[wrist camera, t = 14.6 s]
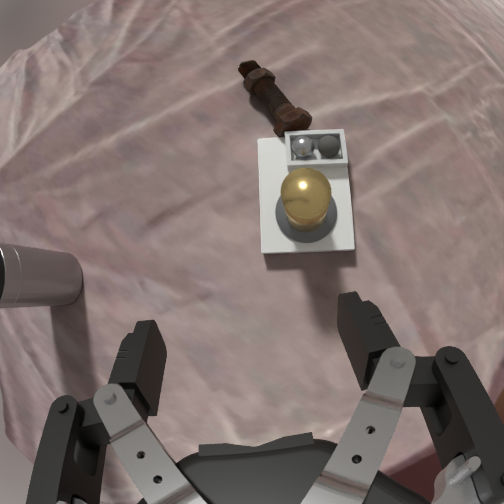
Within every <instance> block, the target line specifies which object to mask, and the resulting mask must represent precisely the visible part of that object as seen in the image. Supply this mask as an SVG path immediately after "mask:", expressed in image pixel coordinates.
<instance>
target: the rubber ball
mask: <svg viewBox="0 0 504 504" xmlns="http://www.w3.org/2000/svg"><path fill="white" fill-rule="evenodd" d="M339 150H340V144H339V141H338V140H337V139H336V138H335V137H333V136H330V135H327V136H323V137H322V138H321V139H320V140H319V142H318V151H319V152H320V154H321V155H323V156H324V157H328V158H330V157H334V156H336V155H337V154H338V152H339Z"/></svg>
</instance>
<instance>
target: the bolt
mask: <svg viewBox="0 0 504 504" xmlns="http://www.w3.org/2000/svg"><path fill="white" fill-rule="evenodd" d="M239 66H240V67H239V68H238V71H239V72H240V74H241V75H242V76H243V77H244V79H245V82H244V87H245V88H246V90H247V91H248V92H250V93H252V94H254V95H258V96H259V98H260V99H261V100H262V101H263V103H264V104H265V105H266V107H267V108H268V109H269V111H270V112H271V113H272V115H273V116H274V117H275V120H276V121H277V124H276V126H275V128H274V130H273V131H274V132H275V134H276V135H277V136H278V137H285V132H288V131H305V130H306V129H307V128H308V127H309V126H310V124H311V121H312V116H311V115H310V114H309V113H308V112H307V111H305V110H303V109H301V108H299V107H298V108H295V107H294V106H293V105H292V104H291V103H290V102H289V100H288V99H287V98H286V97H285V96H284V94H283V93H282V92H281V91H280V89H279V88H278V87H277V86H276V85H275V83H274V82H275V76H274V75H273V73H272V72H270V71H269V70H267V69H265V68H261V67H260V66H259V65H258V64H257V63H256V61H254V60H250V61H245V62H242V63H241V64H240V65H239Z"/></svg>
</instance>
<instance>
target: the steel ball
mask: <svg viewBox="0 0 504 504" xmlns="http://www.w3.org/2000/svg"><path fill="white" fill-rule="evenodd" d="M314 149H315V146H314V143H313V141H312V140H311V139H310V138H308V137H304V136H301V137H298V138H296V139H295V140H294V142H293V144H292V151H293V153H294V154H295V155H296V156H297V157H299V158H302V159H305V158H308V157H310V156H311V155H312V154H313V153H314Z"/></svg>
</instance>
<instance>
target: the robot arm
mask: <svg viewBox="0 0 504 504" xmlns="http://www.w3.org/2000/svg"><path fill="white" fill-rule="evenodd" d="M81 287H82V271H81V267H80V265H79V262H78V261H77V259H76V258H75V257H74V256H73V255H71V254H69V253H65V252H58V251H52V250H45V249H38V248H31V247H24V246H18V245H11V244H4V243H0V308H18V307H38V306H58V305H68V304H71V303H73V302H74V301H75V300H76V299H77V297H78V296H79V294H80V291H81ZM337 325H338V331H339V334H340V337H341V340H342V342H343V345H344V347H345V350H346V352H347V355H348V357H349V360H350V362H351V365H352V367H353V370H354V373H355V375H356V378H357V380H358V383H359V386H360V388H361V391H362V390H366V389H367V391H366V393H365V394H363V396H362V397H361V399H360V402H359V404H358V406H357V408H356V410H355V412H354V414H353V416H352V418H351V420H350V422H349V424H348V426H347V428H346V430H345V432H344V434H343V436H342V438H341V440H340V441H339V443H338V444H336V443H334V442H331V441H327V440H321V439H313V436H312V432H310V433H304V434H298V435H292V436H286V437H282V438H279V439H277V440H274V441H271V442H269V443H266V444H263V445H260V446H257V447H250V446H242V445H234V444H227V443H223V444H205V445H199V452H197V453H194V454H191V455H189V456H187V457H185V458H183V459H182V460H180V461H179V462H176V461H175V460H174V459H173V458H172V456H171V455H170V454H169V453H168V451H167V450H166V449H165V447H164V446H163V445H162V443H161V442H160V441H159V439H158V438H157V436H156V435H155V434H154V432H153V431H152V429H151V428H150V427H149V425H148V424H147V419H148V416H157V412H158V405H159V399H160V393H161V387H162V381H163V375H164V369H165V363H166V358H167V351H166V346H165V343H164V341H163V338H162V336H161V333H160V331H159V329H158V326H157V324H156V322H155V320H145V321H138V322H137V323H136V326H135V329H134V332H133V333H128V334H127V336H126V337H125V338H124V339H123V340H122V342H121V345H120V348H119V352H118V354H117V357H116V358H117V359H116V360H115V363H114V366H113V369H112V372H111V375H110V378H109V382H108V384H107V385H104V386H102V387H101V388H100V389H98V391H97V392H96V393H95V395H94V398H92V399H88V400H84V401H80V402H77V401H76V400H75V399H74V398H73V397H72V396H69V395H64V396H61V397H59V398H57V399H56V400H55V401H54V402H53V403H52V405H51V407H50V410H49V413H48V417H47V420H46V423H45V426H44V430H43V433H42V437H41V440H40V444H39V448H38V451H37V455H36V459H35V463H34V468H33V472H32V476H31V481H30V485H29V491H28V495H27V501H26V504H99V503H100V493H101V484H102V476H103V468H104V461H105V454H106V447H107V444H111V445H112V447H113V449H114V450H115V452H116V454H117V456H118V457H119V459H120V461H121V463H122V464H123V466H124V468H125V469H126V471H127V473H128V474H129V476H130V477H131V479H132V481H133V482H134V484H135V485H136V487H137V488H138V490H139V491H140V493H141V494H142V496H143V498H142V499H141V500H140V501H139V502H138V503H137V504H501V503H503V502H504V426H503V423H502V421H501V419H500V418H499V415H498V413H497V411H496V409H495V407H494V405H493V403H492V402H491V400H490V398H489V396H488V394H487V392H486V390H485V388H484V387H483V385H482V383H481V381H480V379H479V378H478V376H477V374H476V372H475V371H474V369H473V367H472V365H471V364H470V362H469V360H468V359H467V357H466V355H465V354H464V353H463V352H462V351H461V350H460V349H458V348H456V347H452V346H447V347H443V348H441V349H439V350H438V351H437V353H436V355H435V356H431V357H419V356H414V355H413V353H412V352H411V351H409V350H408V349H406V348H403V347H401V346H400V345H399V343H398V341H397V339H396V338H395V336H394V334H393V332H392V331H391V329H390V327H389V325H388V324H387V323H386V320H385V319H384V317H383V316H382V313H381V312H380V310H379V308H378V307H377V306H376V305H374V304H373V303H372V302H370V301H369V300H368V301H363V302H362V300H361V299H360V297H359V295H358V293H357V292H356V291H354V292H348V293H343V294H339V296H338V315H337ZM403 407H420V409H421V411H422V414H423V416H424V419H425V422H426V424H427V427H428V430H429V432H430V435H431V438H432V441H433V443H434V446H435V449H436V452H437V455H438V458H439V461H440V463H441V466H442V471H441V472H440V473H439V474H438V476H437V477H436V480H435V496H434V499H433V501H432V503H430V502H429V501H428V500H427V499H426V498H424V497H423V496H421V495H419V494H417V493H416V492H414V491H412V490H410V489H409V488H407V487H405V486H404V485H402V484H400V483H399V482H397V481H395V480H394V479H392V478H390V477H389V476H387V475H386V474H384V473H382V472H381V471H379V470H378V469H379V467H380V464H381V462H382V460H383V458H384V455H385V453H386V450H387V448H388V446H389V443H390V441H391V438H392V436H393V433H394V430H395V428H396V425H397V422H398V420H399V417H400V414H401V411H402V408H403Z"/></svg>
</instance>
